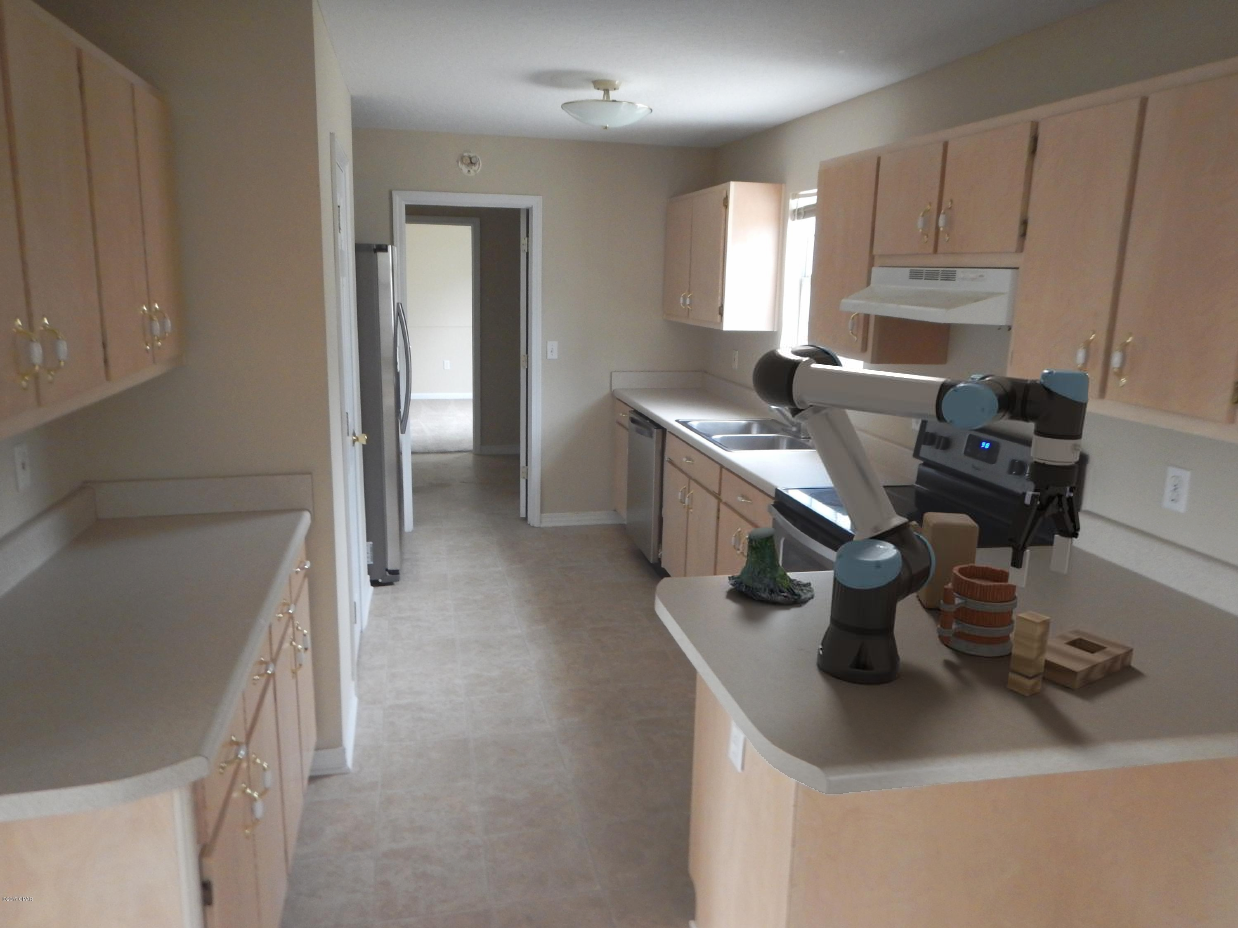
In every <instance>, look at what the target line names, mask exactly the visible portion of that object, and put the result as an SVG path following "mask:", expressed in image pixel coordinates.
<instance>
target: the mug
mask: <svg viewBox="0 0 1238 928" xmlns="http://www.w3.org/2000/svg"><path fill="white" fill-rule="evenodd" d="M1009 572H1010V570H1009V569H1005V568H1002V567H1001V568H998V567H993V566H992V565H986V564H985V565H982V564H975V565H974V564H968V565H961V566H956V567H954V568H953V572H952V581H951V583H950V584H949V585H945V586H944V596H943V600H942V601H941V604H940V608H941V609H940V613H941V615H940V621H939V624H938V625H937V630H936V633H937V634H938V635H937V637H938V639H939V642H940V644H942V645H946V646H948V647H949V648H950V649H953V650H954V651H957V652H960V653H963V654H967V655H969V656H970V655H971V656H973V657H974V656H976V657H981V658H997V657H998V658H999V657H1003V656H1006V655H1008V654H1010V653H1012V648H1013V640H1012V639H1011V637H1010V636H1011V634H1012V633H1013V632H1014V631H1015V625H1016V619H1014V617H1013V615H1014V610H1015V609H1016V608H1017V606H1018V602H1019V601H1018V599H1019V596H1018V594H1017V593H1016V591H1017V586H1016V585H1013V584H1009V583H1008V579H1009Z"/></svg>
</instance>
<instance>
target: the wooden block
mask: <svg viewBox="0 0 1238 928" xmlns="http://www.w3.org/2000/svg"><path fill="white" fill-rule="evenodd" d="M922 517H923V518H922V527H921V529H922V534H921V536H923V537H924V538H925V539H926V540H927V541H928V542H929V543H930V545H931V547H932V549H933V551H934V554H935V570H934V573H933V575H932V577H931V579H930V580H929V581H928V582H927V583H926V584H925V586H924V587H923V588H922V589H920V590H919V591H918V592H916V593H915V594H916V596H917V597H918V599H919V600H920V601H921V604H922V606H924V607H925V608H927V609H936V610H938V609H939V610H941V608H940V604H941V601H942V600H943V596H944V586H945V585H949V584H950V583H951V581H952V572H953V568H954V567H956V566H961V565H968V564H974V565H976V556H977V549H978V548H977V547H978V541H979V532H980V527H979V524H977V523H976V522H975V521H974V520H973V519H972V518H971V517H970V516H969V515H968V514H965V513H954V512H953V513H952V512H951V513H950V512H948V513H947V512H933V511H930V512H929V511H928V512H925V513H924V514H923V516H922Z"/></svg>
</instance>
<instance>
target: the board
mask: <svg viewBox="0 0 1238 928" xmlns="http://www.w3.org/2000/svg"><path fill="white" fill-rule="evenodd" d="M1133 654H1134V647H1131V646H1129V645H1125V644H1124V643H1119V642H1117V641H1114V640H1111V639H1108V638H1106V637H1104V636H1101V635H1097V634H1094V633H1091V632H1089V631H1086V630H1084V629H1081V628H1076V629H1073V630H1070V631H1067V632H1065V633H1063V634H1060V635H1057V636H1055V637H1054V636H1053V637H1052V638H1048V642H1047V649H1046V656H1045V663H1044V670H1043V671H1044V672H1043V676H1042V678H1045V679H1048V680H1050V681H1053V682H1055V683H1058V684H1059V685H1063V686H1065V687H1068V688H1071V689H1073V690H1077V689H1079V688H1081V687H1083V686H1087V685H1089V684H1092V683H1093V682H1095V681H1098V680H1101V679H1102V678H1105V677H1107V676H1109V675H1112V674H1113V673H1116V672H1118V671H1120V670H1123V669H1125V668H1128V667H1130V666H1131V664H1132V660H1133Z"/></svg>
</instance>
